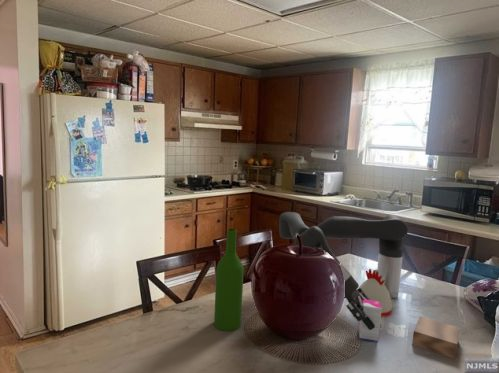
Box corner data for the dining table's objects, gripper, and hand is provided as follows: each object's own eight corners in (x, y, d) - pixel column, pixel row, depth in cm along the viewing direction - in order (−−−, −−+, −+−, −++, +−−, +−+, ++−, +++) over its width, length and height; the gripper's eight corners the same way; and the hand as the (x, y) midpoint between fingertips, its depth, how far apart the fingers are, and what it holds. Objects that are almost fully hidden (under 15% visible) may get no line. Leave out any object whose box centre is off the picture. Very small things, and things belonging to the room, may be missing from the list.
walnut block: (412, 345, 117) (413, 331, 116) (418, 330, 127) (419, 316, 126) (455, 359, 110) (457, 344, 110) (457, 342, 120) (459, 327, 120)
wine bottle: (245, 321, 125) (250, 228, 121) (233, 334, 117) (238, 234, 113) (222, 315, 129) (226, 224, 125) (209, 326, 121) (212, 230, 117)
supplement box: (378, 342, 117) (382, 308, 115) (359, 339, 118) (362, 305, 116) (376, 333, 122) (379, 300, 121) (357, 330, 123) (360, 298, 122)
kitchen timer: (369, 297, 150) (372, 262, 148) (398, 311, 139) (403, 273, 137) (345, 304, 143) (349, 267, 141) (375, 320, 131) (379, 280, 129)
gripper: (337, 279, 130) (368, 319, 127) (326, 294, 117) (361, 339, 114) (354, 268, 127) (386, 308, 124) (345, 281, 114) (380, 327, 111)
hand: (374, 323), depth 119 cm, fingers closed on supplement box, 7 cm apart
